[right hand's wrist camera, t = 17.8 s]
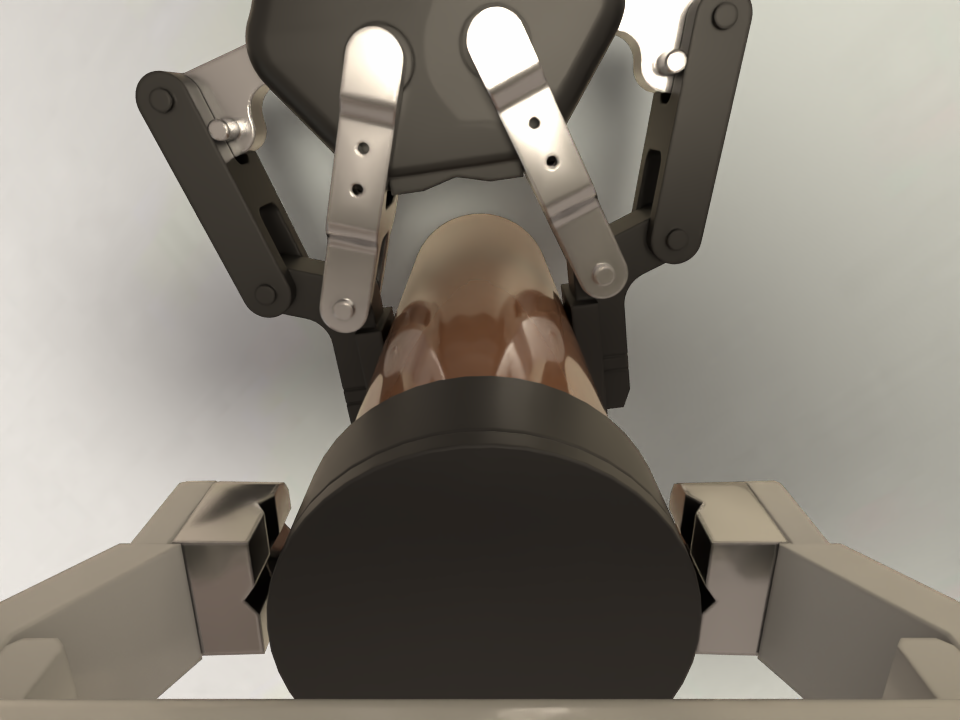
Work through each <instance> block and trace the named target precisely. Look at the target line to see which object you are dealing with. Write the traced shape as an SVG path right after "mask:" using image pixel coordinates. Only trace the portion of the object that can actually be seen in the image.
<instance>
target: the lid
mask: <svg viewBox="0 0 960 720" xmlns="http://www.w3.org/2000/svg"><path fill="white" fill-rule="evenodd" d="M701 620H702V613H701V594H700V590H699V585H698V581H697V576H696V572H695V569H694V567H693V564H692V562H691V560H690V557H689V555H688V552H687V550H686V547H685V545H684V543H683V541H682V539H681V537H680V535H679V532H678V530H677V528H676V526H675V523H674V521H673V519H672V517H671V515H670V512H669V510H668V508H667V506H666V504H665V502H664V499H663V497H662V495H661V493H660V491H659V488H658V486H657V484H656V482H655V480H654V477H653V475H652V473H651V471H650V469H649V467H648V465H647V463H646V462H645V460H644V458H643V457H642V455H641V453H640V452H639V450H638V449H637V447H636V446H635V445H634V444H633V443H632V441H631V440H630V439H629V438H628V436H627V435H626V434H625V433H624V432H623V431H622V430H621V429H620V428H619V427H618V426H617V425H616V424H615V423H613V422H612V421H611V420H610V419H609V418H608V417H607V416H605V415H604V414H602V413H601V412H599V411H598V410H597V409H595V408H594V407H592V406H591V405H589V404H588V403H586V402H584V401H582V400H580V399H578V398H576V397H574V396H572V395H570V394H568V393H566V392H564V391H561V390H558V389H555V388H552V387H550V386H547V385H544V384H541V383H536V382H532V381H527V380H523V379H518V378H509V377H499V376H465V377H458V378H451V379H444V380H439V381H435V382H431V383H428V384H424V385H420V386H417V387H414V388H411V389H409V390H407V391H404V392H402V393H399V394H397V395H394V396H392V397H390V398H389V399H387V400H385V401H383V402H382V403H380V404H378V405H376V406H375V407H373V408H371V409H370V410H369V411H367V412H366V413H365V414H363V415H362V416H361V417H359V418H358V419H357V420H356V421H354V422H353V423H352V424H351V425H350V426H349V427H348V428H347V429H346V430H345V431H344V432H343V433H342V434H341V435H340V436H339V437H338V438H337V439H336V440H335V442H334V443H333V445H332V446H331V447H330V449H329V450H328V451H327V453H326V454H325V456H324V457H323V459H322V461H321V463H320V465H319V466H318V468H317V470H316V472H315V474H314V476H313V478H312V481H311V483H310V485H309V488H308V490H307V492H306V495H305V497H304V499H303V502H302V504H301V506H300V509H299V511H298V513H297V516H296V518H295V520H294V523H293V525H292V527H291V530H290V532H289V534H288V537H287V539H286V542H285V544H284V546H283V548H282V551H281V553H280V555H279V558H278V560H277V563H276V566H275V569H274V572H273V575H272V578H271V581H270V586H269V592H268V599H267V631H268V637H269V642H270V647H271V652H272V655H273V658H274V660H275V663H276V666H277V669H278V672H279V674H280V676H281V677H282V679H283V681H284V683H285V685H286V687H287V689H288V690H289V692H290V693H291V695H292V696H293V698H294V699H673V698H674V696H675V695H676V693H677V692H678V690H679V689H680V687H681V686H682V684H683V682H684V680H685V678H686V676H687V674H688V672H689V669H690V667H691V665H692V663H693V660H694V656H695V653H696V649H697V646H698V643H699V636H700V628H701Z"/></svg>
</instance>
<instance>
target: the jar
mask: <svg viewBox="0 0 960 720" xmlns="http://www.w3.org/2000/svg"><path fill="white" fill-rule="evenodd" d="M465 376H499V377H509V378H518V379H523V380H527V381H532V382H536V383H541V384H544V385H547V386H550V387H552V388H555V389H558V390H561V391H564V392H566V393H568V394H570V395H572V396H574V397H576V398H578V399H580V400H582V401H584V402H586V403H588V404H589V405H591V406H592V407H594V408H595V409H597V410H598V411H599V412H601V413H602V414H604V415H605V416H607V414H606V411H605V409H604V406H603V404H602V401H601V399H600V396H599V394H598V391H597V389H596V386H595V384H594V381H593V379H592V377H591V374H590V372H589V369H588V367H587V364H586V362H585V359H584V357H583V354H582V352H581V349H580V347H579V344H578V342H577V339H576V337H575V334H574V332H573V329H572V327H571V324H570V322H569V319H568V317H567V314H566V312H565V309H564V307H563V304H562V302H561V299H560V297H559V294H558V292H557V289H556V287H555V284H554V282H553V279H552V277H551V274H550V272H549V269H548V267H547V264H546V262H545V259H544V257H543V254H542V252H541V250H540V248H539V246H538V245H537V243H536V242H535V240H534V239H533V238H532V237H531V235H529V234H528V233H527V232H526V231H525V230H524V229H523V228H522V227H520V226H519V225H518V224H516V223H514V222H512V221H510V220H508V219H506V218H503V217H500V216H496V215H492V214H470V215H464V216H461V217H457V218H455V219H452V220H450V221H448V222H446V223H445V224H443V225H442V226H440V227H439V228H438V229H436V230H435V231H434V232H433V233H432V234H431V235H430V236H429V237H428V238H427V240H426V241H425V242H424V244H423V245H422V247H421V249H420V251H419V253H418V255H417V258H416V260H415V263H414V266H413V268H412V271H411V274H410V276H409V279H408V282H407V284H406V287H405V290H404V292H403V295H402V298H401V300H400V303H399V306H398V308H397V311H396V314H395V316H394V319H393V322H392V324H391V327H390V330H389V332H388V335H387V338H386V340H385V343H384V346H383V348H382V351H381V354H380V356H379V359H378V362H377V364H376V367H375V370H374V372H373V375H372V378H371V380H370V383H369V386H368V388H367V391H366V394H365V396H364V399H363V402H362V404H361V407H360V410H359V412H358V415H357V418H356V420H357V419H358V418H359V417H361V416H362V415H363V414H365V413H366V412H367V411H369V410H370V409H371V408H373V407H375V406H376V405H378V404H380V403H382V402H383V401H385V400H387V399H389V398H390V397H392V396H394V395H397V394H399V393H402V392H404V391H407V390H409V389H411V388H414V387H417V386H420V385H424V384H428V383H431V382H435V381H439V380H444V379H451V378H458V377H465ZM607 417H608V416H607ZM356 420H355V421H356Z"/></svg>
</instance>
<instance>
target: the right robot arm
mask: <svg viewBox="0 0 960 720" xmlns="http://www.w3.org/2000/svg"><path fill="white" fill-rule="evenodd" d="M290 510H291V503H290V496H289V490H288V488H287V486H286V485H285V483H284V482H235V481H219V482H217V481H186V482H181V483H179V484H178V485H177V487H176V488H175V489H174V490H173V491H172V493H171V494H170V495H169V496H168V498H167V499H166V500H165V501H164V503H163V504H162V505H161V506H160V508H159V509H158V510H157V511H156V513H155V514H154V515H153V516H152V517H151V519H150V520H149V521H148V522H147V524H146V525H145V526H144V527H143V529H142V530H141V531H140V532H139V534H138V535H137V536H136V537H135V539H134V540H133V541H132V542H131V543H123V544H118V545H116V546H114V547H112V548H110V549H107V550H105V551H103V552H101V553H99V554H97V555H95V556H93V557H91V558H89V559H87V560H85V561H83V562H81V563H79V564H77V565H75V566H73V567H71V568H69V569H67V570H65V571H63V572H61V573H59V574H57V575H54V576H52V577H50V578H48V579H46V580H44V581H42V582H40V583H38V584H36V585H34V586H32V587H30V588H28V589H26V590H24V591H22V592H20V593H18V594H16V595H14V596H12V597H10V598H8V599H6V600H3V601H1V602H0V720H960V602H958V601H956V600H954V599H952V598H950V597H948V596H946V595H944V594H942V593H940V592H938V591H936V590H934V589H932V588H930V587H928V586H926V585H924V584H922V583H920V582H918V581H916V580H914V579H912V578H909V577H907V576H905V575H903V574H901V573H899V572H897V571H895V570H893V569H891V568H889V567H887V566H885V565H883V564H881V563H879V562H877V561H875V560H873V559H871V558H869V557H867V556H865V555H863V554H861V553H859V552H857V551H855V550H853V549H851V548H849V547H846V546H844V545H842V544H837V543H829V542H828V541H827V540H826V538H825V537H824V536H823V535H822V534H821V532H820V531H819V530H818V529H817V527H816V526H815V525H814V524H813V522H812V521H811V520H810V519H809V517H808V516H807V515H806V514H805V513H804V511H803V510H802V509H801V508H800V506H799V505H798V504H797V503H796V501H795V500H794V499H793V498H792V497H791V495H790V494H789V493H788V492H787V490H786V489H785V488H784V487H783V485H782V484H781V483H779V482H776V481H774V480H772V481H747V482H705V483H677V484H674V485H673V488H672V491H671V495H670V503H669V510H670V512H671V514H672V516H673V518H674V521H675V526H676V528H677V530H678V532H679V535H680V537H681V539H682V541H683V543H684V545H685V547H686V550H687V552H688V555H689V557H690V560H691V562H692V564H693V567H694V569H695V572H696V576H697V581H698V585H699V590H700V594H701V613H702V620H701V628H700V636H699V643H698V646H697V649H696V654H719V655H756V656H758V659H759V660H760V661H761V662H762V663H764V664H765V665H766V666H767V667H768V668H769V669H770V670H772V671H773V672H774V673H775V674H776V675H777V676H778V677H780V678H781V679H782V680H783V681H784V682H785V683H786V684H788V685H789V686H790V687H791V688H792V689H793V690H794V691H796V692H797V693H798V694H799V695H800V696H801V697H802V698H804V699H157V698H158V697H159V696H160V695H161V694H163V693H164V692H165V691H166V690H167V689H168V688H169V687H171V686H172V685H173V684H174V683H175V682H176V681H177V680H179V679H180V678H181V677H182V676H183V675H184V674H185V673H187V672H188V671H189V670H190V669H191V668H192V667H193V666H195V665H196V664H197V663H198V662H199V661H200V660H201V659H202V656H204V655H239V654H265V651H266V649H267V646H268V644H269V637H268V631H267V599H268V592H269V586H270V581H271V578H272V575H273V572H274V569H275V566H276V563H277V560H278V558H279V555H280V553H281V551H282V548H283V546H284V544H285V542H286V539H287V537H288V534H289V532H290V530H291V529H290V528H289V527H288V526H287V525H286V524H285V521H286V519H287V516H288V514H289V512H290Z"/></svg>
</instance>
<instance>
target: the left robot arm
mask: <svg viewBox="0 0 960 720" xmlns="http://www.w3.org/2000/svg"><path fill="white" fill-rule="evenodd" d="M751 20H752V4H751V1H750V0H252V5H251V10H250V14H249V18H248V21H247V26H246V35H245V37H246V44H245V45H243V46H241V47H239V48H237V49H235V50H232V51H230V52H228V53H226V54H224V55H222V56H220V57H218V58H215V59H213V60H211V61H209V62H207V63H205V64H203V65H201V66H198V67H196V68H194V69H192V70H190V71H188V72H185V73H174V72H165V71H153V72H150V73H148V74H146V75H145V76H143V77H142V78H141V80H140V81H139V83H138V85H137V88H136V103H137V106H138V109H139V111H140V113H141V114H142V116H143V118H144V120H145V122H146V124H147V125H148V127H149V129H150V131H151V133H152V135H153V136H154V138H155V140H156V142H157V144H158V145H159V147H160V149H161V151H162V153H163V155H164V156H165V158H166V160H167V162H168V164H169V166H170V167H171V169H172V171H173V173H174V175H175V176H176V178H177V180H178V182H179V184H180V186H181V187H182V189H183V191H184V193H185V195H186V197H187V198H188V200H189V202H190V204H191V206H192V207H193V209H194V211H195V213H196V215H197V217H198V218H199V220H200V222H201V224H202V226H203V227H204V229H205V231H206V233H207V235H208V237H209V238H210V240H211V242H212V244H213V246H214V248H215V249H216V251H217V253H218V255H219V257H220V258H221V260H222V262H223V264H224V266H225V268H226V269H227V271H228V273H229V275H230V277H231V279H232V280H233V282H234V284H235V286H236V288H237V289H238V291H239V293H240V295H241V297H242V299H243V300H244V302H245V304H246V305H247V307H248V308H249V309H250V310H251V311H252V312H253V313H255V314H257V315H259V316H262V317H267V318H271V317H276V316H279V315H281V314H286V315H291V316H296V317H301V318H306V319H310V320H312V321H315V322H317V323H318V324H320V325H321V326H322V327H323V328H324V329H325V330H326V331H327V332H328V334H329V335H330V337H331V339H332V343H333V347H334V351H335V356H336V360H337V364H338V369H339V373H340V377H341V382H342V386H343V389H344V395H345V399H346V402H347V408H348V412H349V417H350V421H351V424H352V423H353V422H354V421H355V420H356V418H357V415H358V412H359V410H360V407H361V404H362V402H363V399H364V396H365V394H366V391H367V388H368V386H369V383H370V380H371V378H372V375H373V372H374V370H375V367H376V364H377V362H378V359H379V356H380V354H381V351H382V348H383V346H384V343H385V340H386V338H387V335H388V332H389V330H390V327H391V324H392V322H393V319H394V315H393V310H392V307H386V308H383V306H382V301H381V296H380V293H381V290H382V283H383V277H384V271H385V265H386V258H387V252H388V246H389V240H390V234H391V229H392V226H393V222H394V218H395V213H396V207H397V201H398V195H399V194H406V193H413V192H419V191H425V190H427V189H429V188H432V187H434V186H436V185H438V184H441V183H443V182H445V181H447V180H450V179H452V178H455V177H461V178H469V179H477V180H484V181H496V180H503V179H510V178H517V177H523V172H524V174H525V176H526V178H527V180H528V182H529V184H530V186H531V188H532V190H533V192H534V194H535V196H536V198H537V200H538V202H539V204H540V206H541V208H542V210H543V212H544V215H545V217H546V219H547V221H548V223H549V225H550V227H551V229H552V231H553V233H554V235H555V237H556V239H557V241H558V244H559V246H560V248H561V250H562V252H563V254H564V256H565V258H566V260H567V270H568V280H569V284H561V291H562V301H563V307H564V309H565V312H566V314H567V317H568V319H569V322H570V324H571V327H572V329H573V332H574V334H575V337H576V339H577V342H578V344H579V347H580V349H581V352H582V354H583V357H584V359H585V362H586V364H587V367H588V369H589V372H590V374H591V377H592V379H593V381H594V384H595V386H596V389H597V391H598V394H599V396H600V399H601V401H602V404H603V406H604V409H605V411H606V414H607V409H611V408H619V407H624V404H625V401H626V399H627V396H628V393H629V390H630V383H629V370H628V356H627V338H626V323H625V308H624V300H625V295H626V292H627V290H628V288H629V286H630V285H631V284H632V282H633V281H634V280H635V279H637V278H638V277H639V276H641V275H642V274H644V273H646V272H648V271H650V270H652V269H654V268H656V267H658V266H660V265H662V264H664V263H668V264H680V263H683V262H685V261H687V260H689V259H690V258H692V257H693V256H694V255H695V254H696V252H697V251H698V249H699V247H700V245H701V241H702V237H703V232H704V228H705V223H706V219H707V215H708V210H709V206H710V201H711V197H712V193H713V188H714V184H715V179H716V175H717V170H718V166H719V162H720V157H721V153H722V148H723V144H724V140H725V135H726V131H727V126H728V122H729V117H730V113H731V109H732V104H733V100H734V95H735V91H736V87H737V82H738V78H739V73H740V69H741V64H742V60H743V56H744V51H745V47H746V42H747V38H748V34H749V29H750V25H751ZM615 35H616V36H618V37H620V38H622V39H623V40H624V41H625V42H627V44H628V45H629V47H630V49H631V51H632V54H633V73H634V77H635V79H636V82H637V83H638V84H639V86H640V87H641V88H643V89H644V90H646V91H648V92H652V93H654V95H653V101H652V106H651V112H650V117H649V122H648V128H647V133H646V138H645V144H644V149H643V154H642V160H641V165H640V170H639V176H638V181H637V187H636V192H635V197H634V203H633V208H632V213H630V214H628V215H626V216H624V217H622V218H620V219H618V220H616V221H614V222H612V223H610V224H608V222H607V219H606V217H605V215H604V213H603V211H602V208H601V206H600V204H599V201H598V198H597V194H596V191H595V188H594V186H593V183H592V181H591V179H590V177H589V174H588V172H587V170H586V168H585V165H584V163H583V161H582V159H581V157H580V154H579V152H578V150H577V148H576V145H575V143H574V141H573V139H572V137H571V134H570V132H569V130H568V128H567V125H566V124H567V122H568V121H569V119H570V117H571V115H572V113H573V111H574V110H575V108H576V106H577V104H578V102H579V100H580V99H581V97H582V95H583V93H584V91H585V89H586V88H587V86H588V84H589V82H590V80H591V78H592V77H593V75H594V73H595V71H596V69H597V67H598V66H599V64H600V62H601V60H602V58H603V56H604V55H605V53H606V51H607V49H608V47H609V45H610V44H611V42H612V40H613V38H614V36H615ZM269 90H271V91H272V92H273V93H274V94H275V95H276V96H277V97H278V98H279V99H280V100H281V101H282V102H283V103H284V104H285V105H286V106H287V107H288V108H289V109H290V110H291V111H292V112H293V113H294V114H295V115H296V116H297V117H298V118H299V119H300V120H301V121H302V122H303V123H304V124H305V125H306V126H307V127H308V128H309V129H310V130H311V131H312V132H313V133H314V134H315V135H316V136H317V137H318V138H319V139H320V140H321V141H322V142H323V143H324V144H325V145H326V146H327V147H328V148H329V149H330V150H331V151H332V152H333V153H334V154H335V155H334V163H333V171H332V179H331V187H330V195H329V203H328V211H327V219H326V235H327V238H328V243H327V251H326V259H325V261H320V260H316V259H311V258H309V257H308V255H307V253H306V251H305V249H304V247H303V245H302V243H301V241H300V239H299V237H298V235H297V233H296V231H295V229H294V227H293V225H292V223H291V221H290V219H289V217H288V215H287V213H286V211H285V209H284V207H283V205H282V203H281V201H280V199H279V197H278V195H277V193H276V191H275V189H274V187H273V185H272V183H271V181H270V179H269V177H268V175H267V173H266V171H265V169H264V167H263V165H262V163H261V161H260V159H259V157H258V155H257V153H256V150H258V149H259V148H260V147H261V146H262V145H263V143H264V141H265V138H266V133H267V128H266V123H265V120H264V117H263V113H262V104H263V100H264V97H265V95H266V94H267V92H268V91H269ZM607 416H608V415H607Z"/></svg>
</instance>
